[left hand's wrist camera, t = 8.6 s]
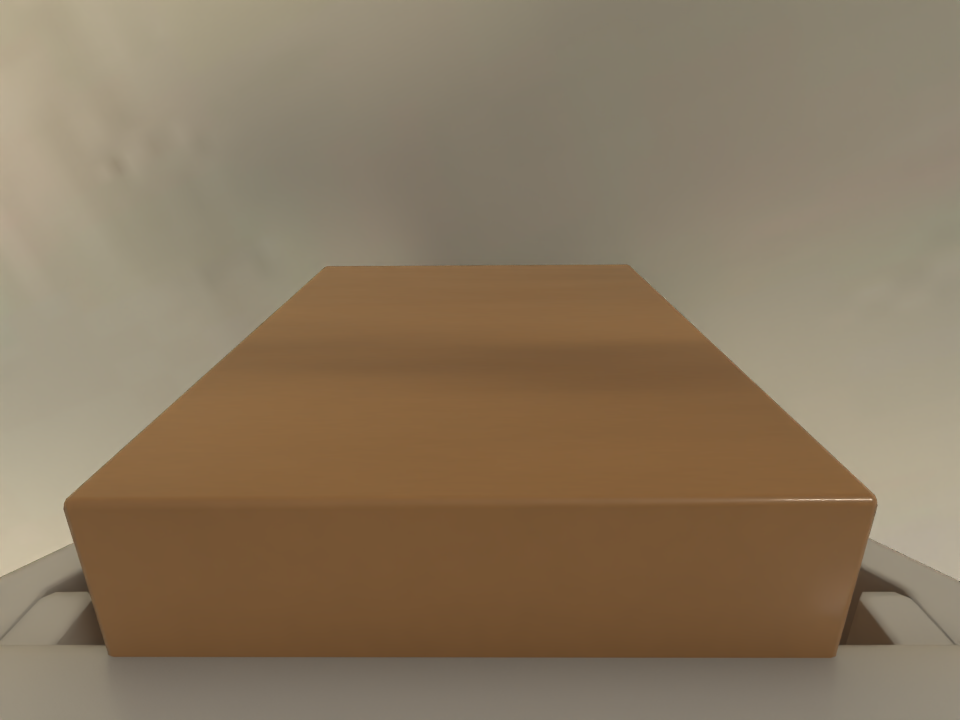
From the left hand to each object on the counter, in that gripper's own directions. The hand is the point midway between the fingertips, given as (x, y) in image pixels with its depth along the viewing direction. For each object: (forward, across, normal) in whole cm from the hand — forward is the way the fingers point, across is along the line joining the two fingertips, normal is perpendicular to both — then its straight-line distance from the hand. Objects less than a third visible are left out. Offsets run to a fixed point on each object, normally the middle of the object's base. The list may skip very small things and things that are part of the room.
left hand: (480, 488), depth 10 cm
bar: (+3, 0, -8) cm, 9 cm away
